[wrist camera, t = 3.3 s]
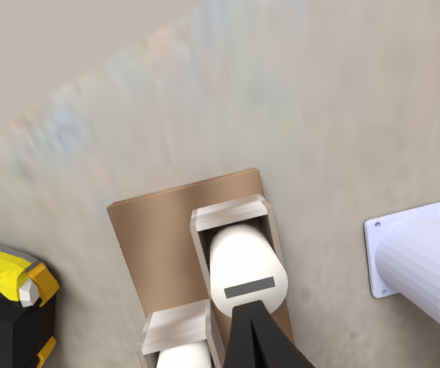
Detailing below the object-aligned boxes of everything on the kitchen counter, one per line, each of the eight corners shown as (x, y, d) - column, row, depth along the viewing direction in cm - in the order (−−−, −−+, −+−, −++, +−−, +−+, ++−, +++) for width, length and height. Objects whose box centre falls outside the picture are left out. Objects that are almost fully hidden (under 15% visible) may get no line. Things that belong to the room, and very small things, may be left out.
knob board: (254, 167, 19) (271, 178, 14) (289, 333, 22) (312, 388, 17) (114, 202, 19) (81, 225, 14) (171, 363, 22) (161, 427, 17)
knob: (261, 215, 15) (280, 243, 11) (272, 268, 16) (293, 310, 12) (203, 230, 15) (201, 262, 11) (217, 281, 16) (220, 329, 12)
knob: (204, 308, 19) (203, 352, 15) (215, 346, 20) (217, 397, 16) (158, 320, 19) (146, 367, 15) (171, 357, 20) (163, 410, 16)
